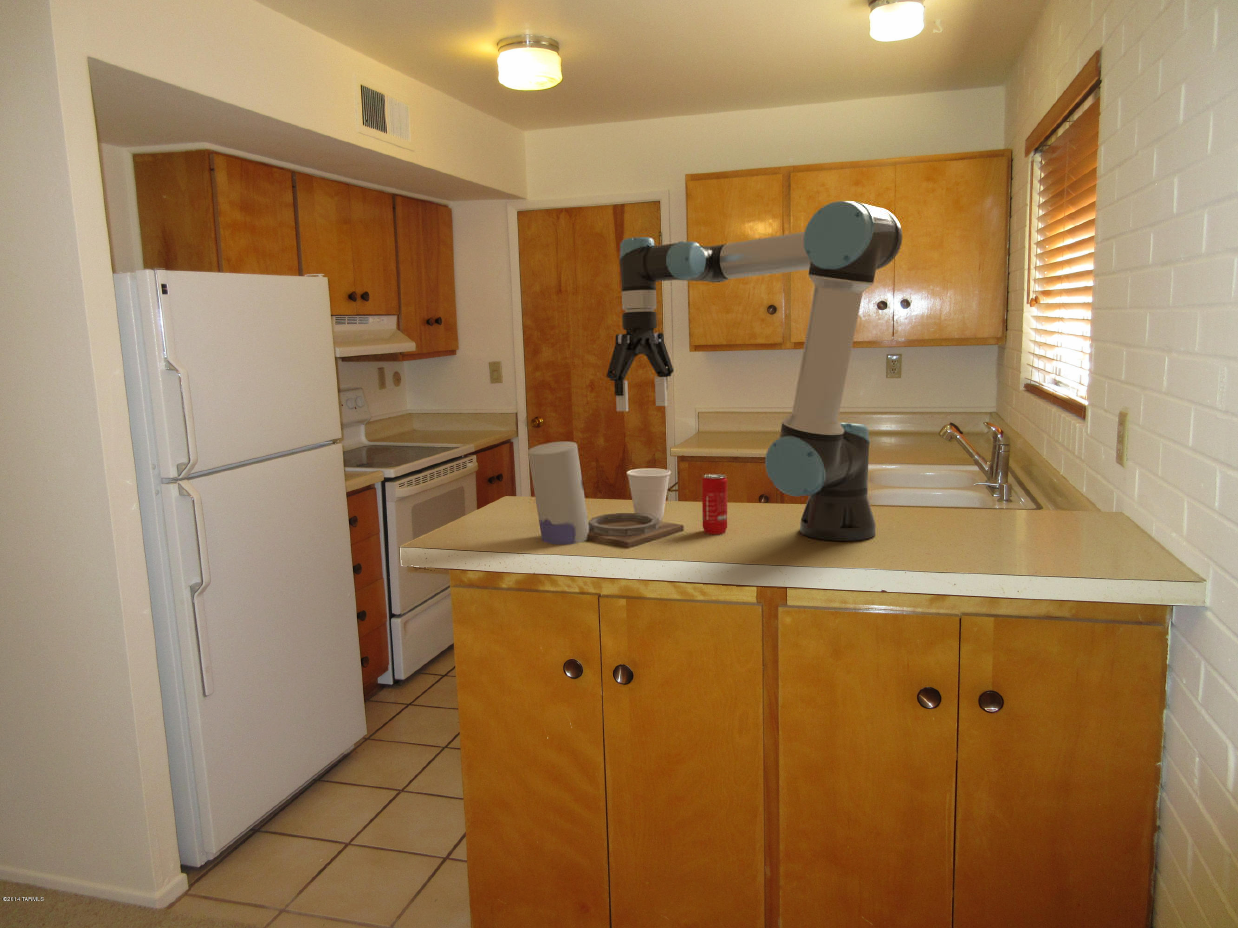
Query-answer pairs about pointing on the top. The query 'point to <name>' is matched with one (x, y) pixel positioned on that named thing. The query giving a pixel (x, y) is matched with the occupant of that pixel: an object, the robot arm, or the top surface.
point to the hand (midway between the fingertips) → (642, 408)
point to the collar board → (635, 538)
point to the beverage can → (714, 503)
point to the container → (559, 492)
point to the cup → (649, 490)
